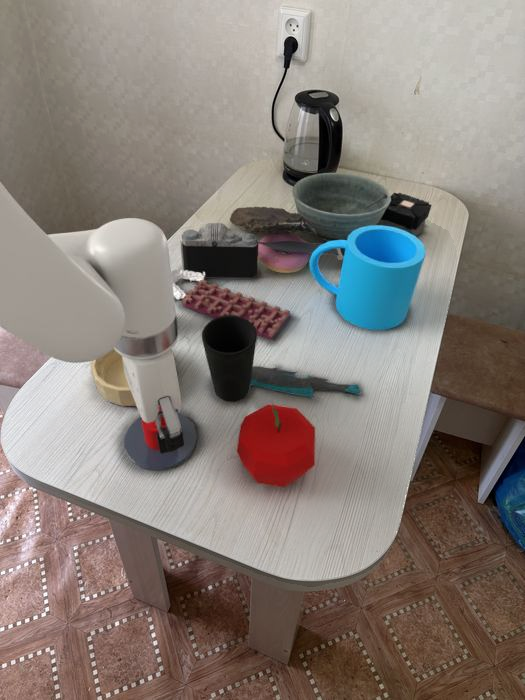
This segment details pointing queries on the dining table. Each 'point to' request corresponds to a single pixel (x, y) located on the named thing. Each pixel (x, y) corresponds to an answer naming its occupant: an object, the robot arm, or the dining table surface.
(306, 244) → the knife
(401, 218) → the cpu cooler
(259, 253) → the doughnut
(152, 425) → the red cylinder
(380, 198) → the screw
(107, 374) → the serving bowl
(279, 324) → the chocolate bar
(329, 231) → the bowl
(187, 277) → the false teeth
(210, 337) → the cup
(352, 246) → the mug
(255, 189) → the dining table surface
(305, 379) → the knife
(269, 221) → the rock
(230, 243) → the camera
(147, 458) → the dark grey coaster
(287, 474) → the apple
